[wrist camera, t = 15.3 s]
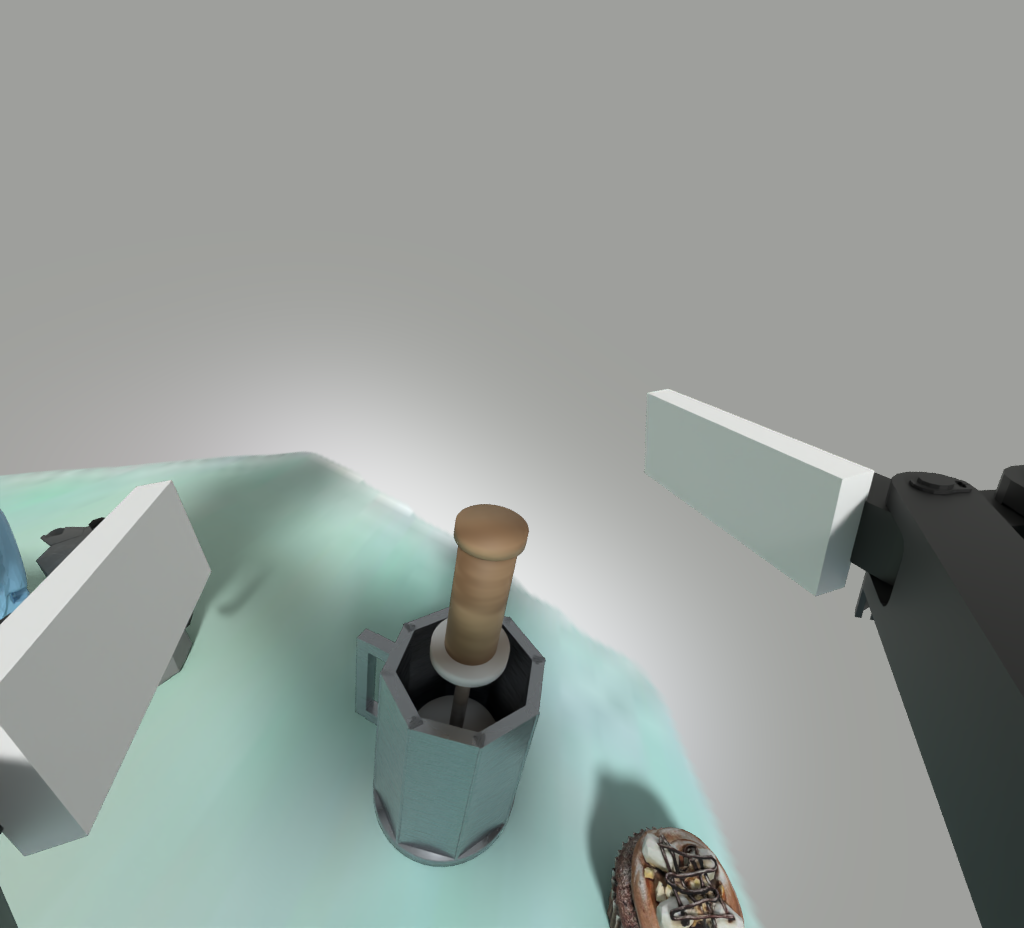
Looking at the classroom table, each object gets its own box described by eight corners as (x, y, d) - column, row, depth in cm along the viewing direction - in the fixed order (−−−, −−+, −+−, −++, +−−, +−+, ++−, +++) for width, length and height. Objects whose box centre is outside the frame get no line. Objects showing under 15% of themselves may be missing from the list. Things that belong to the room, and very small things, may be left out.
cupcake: (744, 1006, 34) (807, 951, 30) (621, 1032, 32) (668, 977, 27) (682, 849, 42) (723, 787, 38) (581, 862, 40) (612, 797, 36)
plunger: (391, 726, 42) (408, 505, 31) (468, 687, 46) (506, 483, 36) (433, 812, 36) (472, 581, 26) (515, 759, 41) (577, 544, 30)
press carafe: (343, 733, 46) (343, 615, 39) (457, 678, 54) (475, 570, 47) (412, 906, 36) (430, 788, 29) (541, 807, 43) (582, 695, 36)
